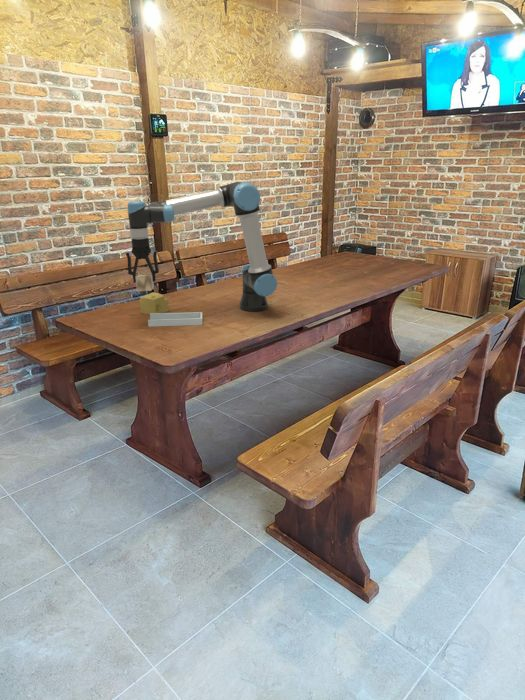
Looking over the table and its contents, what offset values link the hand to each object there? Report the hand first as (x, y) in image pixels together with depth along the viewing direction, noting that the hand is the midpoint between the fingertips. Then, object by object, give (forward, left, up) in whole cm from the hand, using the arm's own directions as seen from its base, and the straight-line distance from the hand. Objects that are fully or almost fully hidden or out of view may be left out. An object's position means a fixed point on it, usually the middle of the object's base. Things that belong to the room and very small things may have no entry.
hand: (145, 288), depth 225 cm
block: (-3, 0, +3) cm, 4 cm away
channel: (-13, 0, -18) cm, 22 cm away
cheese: (-2, -18, -18) cm, 26 cm away
